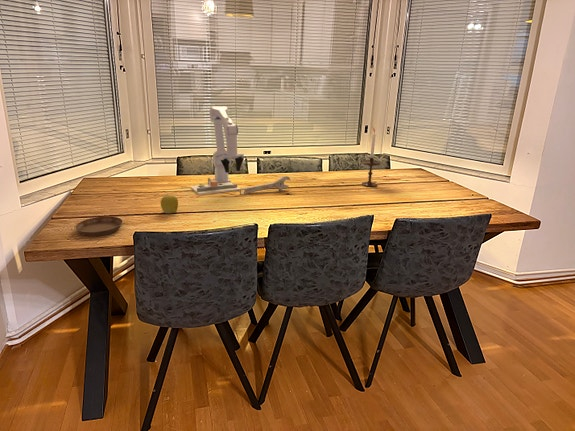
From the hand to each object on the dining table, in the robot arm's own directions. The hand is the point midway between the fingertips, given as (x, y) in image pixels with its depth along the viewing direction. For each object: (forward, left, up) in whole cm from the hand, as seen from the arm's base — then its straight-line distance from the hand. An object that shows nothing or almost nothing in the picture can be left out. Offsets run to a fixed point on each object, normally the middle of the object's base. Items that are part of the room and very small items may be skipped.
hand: (232, 171), depth 224 cm
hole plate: (-6, -9, -11) cm, 15 cm away
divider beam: (-6, -9, -11) cm, 15 cm away
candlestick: (+22, +79, -11) cm, 83 cm away
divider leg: (-5, -11, -9) cm, 15 cm away
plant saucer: (+35, -72, -11) cm, 81 cm away
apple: (+24, -41, -11) cm, 48 cm away
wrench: (+10, +15, -11) cm, 22 cm away
